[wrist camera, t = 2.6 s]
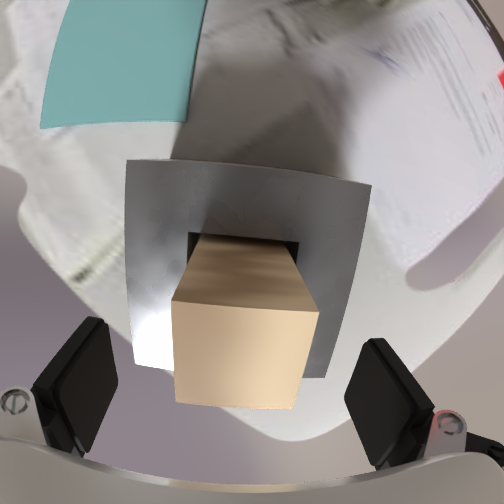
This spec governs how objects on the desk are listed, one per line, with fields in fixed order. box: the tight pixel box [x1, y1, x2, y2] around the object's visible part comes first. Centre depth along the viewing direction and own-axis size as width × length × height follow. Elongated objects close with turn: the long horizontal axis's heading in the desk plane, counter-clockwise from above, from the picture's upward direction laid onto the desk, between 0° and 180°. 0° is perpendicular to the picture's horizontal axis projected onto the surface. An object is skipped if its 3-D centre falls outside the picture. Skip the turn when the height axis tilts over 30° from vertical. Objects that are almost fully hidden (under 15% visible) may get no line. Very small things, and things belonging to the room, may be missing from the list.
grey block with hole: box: [125, 159, 372, 378], centre depth 19 cm, size 12×12×9 cm
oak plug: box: [171, 233, 319, 409], centre depth 14 cm, size 4×4×11 cm
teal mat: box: [40, 0, 206, 129], centre depth 17 cm, size 14×14×1 cm
